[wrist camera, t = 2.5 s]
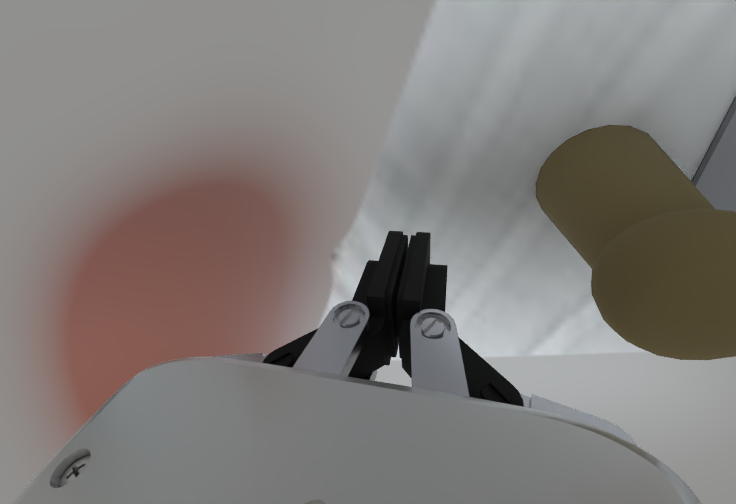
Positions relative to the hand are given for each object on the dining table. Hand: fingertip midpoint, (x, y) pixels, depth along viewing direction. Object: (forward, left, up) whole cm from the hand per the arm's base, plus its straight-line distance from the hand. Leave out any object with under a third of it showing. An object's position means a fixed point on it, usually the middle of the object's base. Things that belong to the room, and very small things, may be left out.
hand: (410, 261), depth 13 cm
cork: (-9, 0, -9) cm, 13 cm away
